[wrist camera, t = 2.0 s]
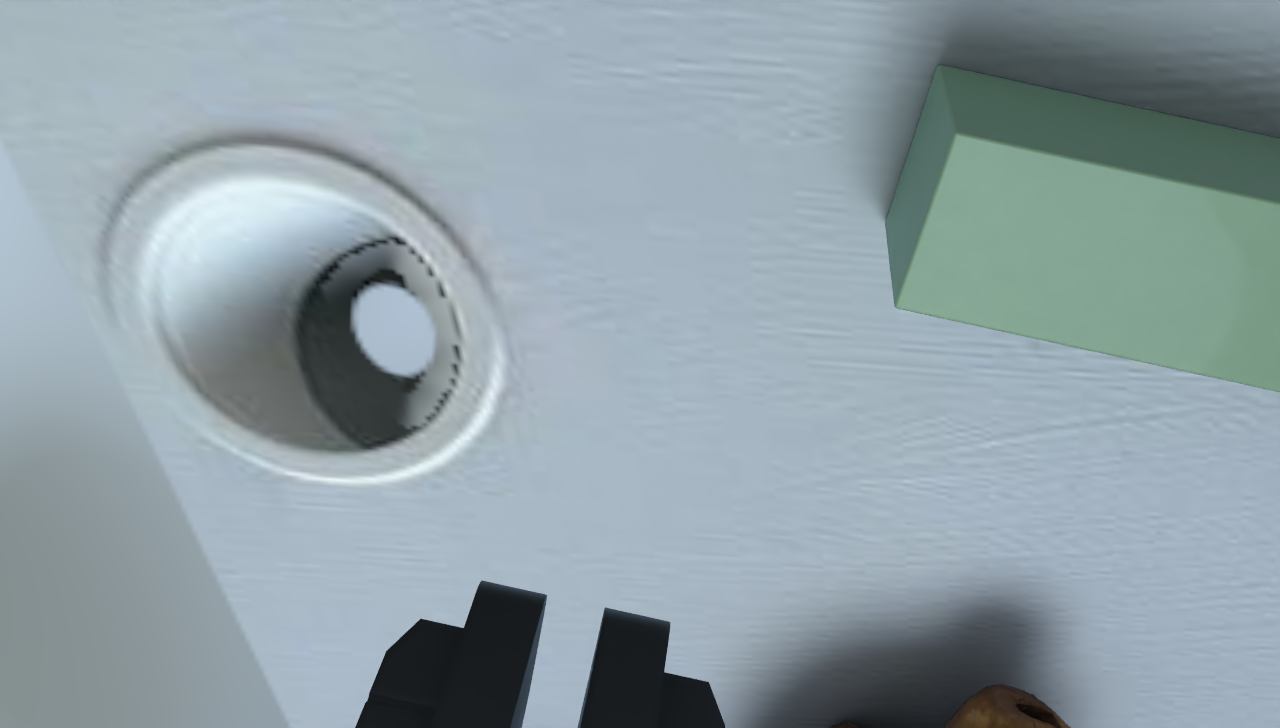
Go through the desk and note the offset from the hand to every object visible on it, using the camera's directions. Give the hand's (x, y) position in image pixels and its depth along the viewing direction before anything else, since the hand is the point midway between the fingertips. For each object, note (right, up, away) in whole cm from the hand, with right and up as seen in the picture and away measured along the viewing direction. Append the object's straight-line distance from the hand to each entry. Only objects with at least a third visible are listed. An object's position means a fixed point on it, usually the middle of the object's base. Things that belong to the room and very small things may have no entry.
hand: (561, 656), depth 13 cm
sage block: (+12, +7, +14) cm, 20 cm away
